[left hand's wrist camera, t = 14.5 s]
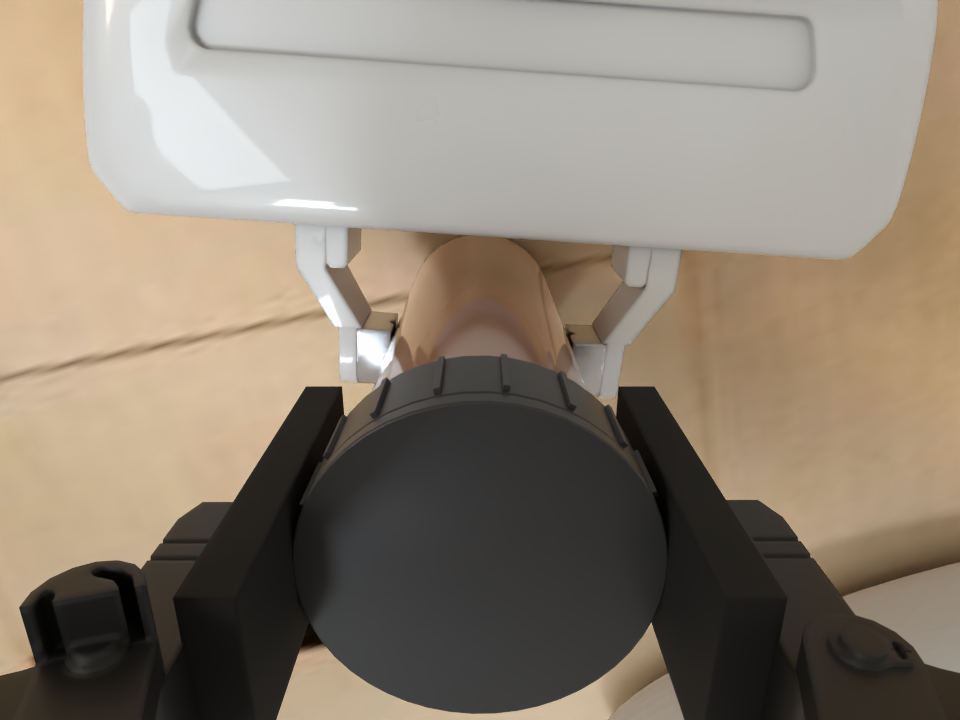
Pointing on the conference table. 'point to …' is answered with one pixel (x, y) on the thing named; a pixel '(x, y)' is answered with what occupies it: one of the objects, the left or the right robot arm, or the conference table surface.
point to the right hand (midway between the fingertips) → (479, 384)
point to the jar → (480, 310)
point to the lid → (480, 537)
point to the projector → (895, 604)
